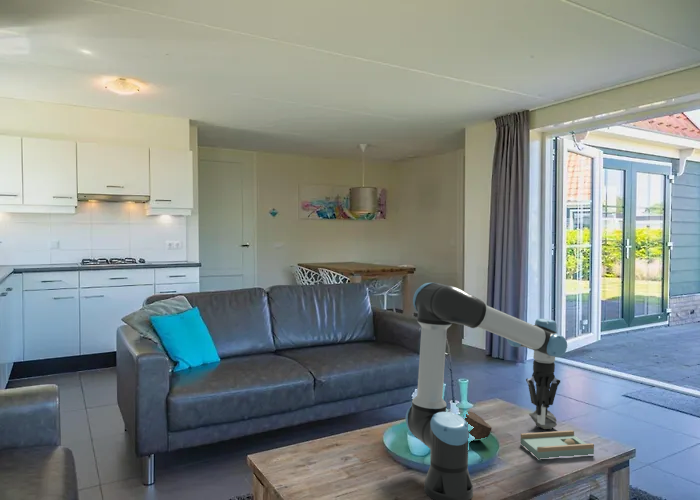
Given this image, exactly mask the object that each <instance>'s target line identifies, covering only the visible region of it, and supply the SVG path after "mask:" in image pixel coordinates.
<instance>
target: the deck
mask: <svg viewBox="0 0 700 500" xmlns="http://www.w3.org/2000/svg"><path fill="white" fill-rule="evenodd" d="M566 439H572V440H573V441H574V442H575V444H574V445H567V444H566V443H564V441H565V440H566ZM520 443H521V444H522V445H523V446H525V447H526V448H527V449H528V450H529V451H530V452H532V453H533V454H534V455H535V456H536V457H537V458H538V459H540V458H549V457H559V456H574V455H588V454H594V455H595V444H594V443H593V442H591V443H587V442H585V441H584V440H582V439H581V438H579V437H577V436H576V435H575V431H574V430H560V431H559V430H558V431H556V430H555V431H543V432H542V431H541V432H528V433H527V432H525V433H520Z"/></svg>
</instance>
